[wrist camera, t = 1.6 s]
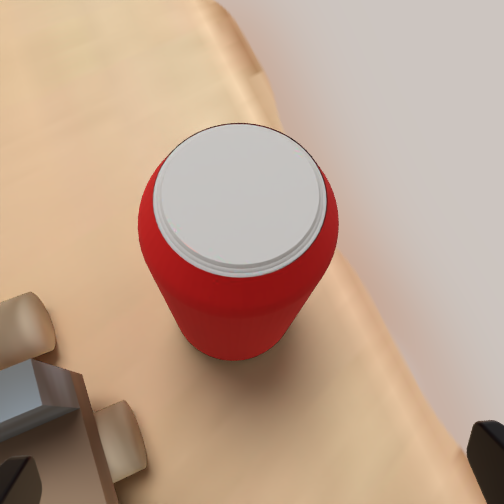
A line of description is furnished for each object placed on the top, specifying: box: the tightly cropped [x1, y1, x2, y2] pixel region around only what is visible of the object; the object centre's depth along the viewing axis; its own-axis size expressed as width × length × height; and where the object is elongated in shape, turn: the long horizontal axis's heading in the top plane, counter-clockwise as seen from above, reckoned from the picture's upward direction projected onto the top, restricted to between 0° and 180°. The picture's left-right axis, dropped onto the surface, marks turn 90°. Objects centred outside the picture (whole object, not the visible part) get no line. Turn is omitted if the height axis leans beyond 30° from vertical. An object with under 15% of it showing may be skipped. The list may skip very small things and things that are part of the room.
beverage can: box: [138, 123, 339, 361], centre depth 17 cm, size 6×6×12 cm
